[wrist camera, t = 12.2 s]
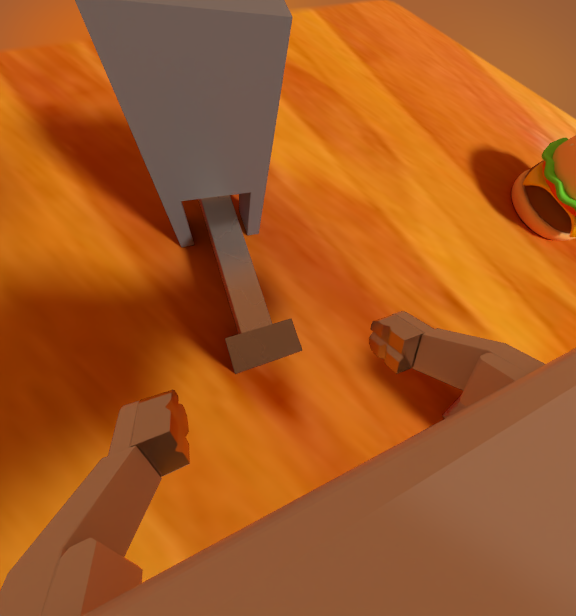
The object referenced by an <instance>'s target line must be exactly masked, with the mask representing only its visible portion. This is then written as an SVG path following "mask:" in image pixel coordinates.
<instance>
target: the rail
mask: <svg viewBox="0 0 576 616" xmlns="http://www.w3.org/2000/svg"><path fill="white" fill-rule="evenodd" d="M198 200H199V203H200V207H201V210H202V213H203V217H204V220H205V224H206V227H207V230H208V234H209V237H210V240H211V244H212V247H213V250H214V254H215V257H216V260H217V264H218V267H219V271H220V274H221V277H222V281H223V284H224V287H225V291H226V294H227V297H228V301H229V304H230V308H231V311H232V314H233V318H234V321H235V324H236V328H237V331H238V335H235V336H231V337H228V338H225V340H226V344H227V347H228V351H229V354H230V358H231V361H232V365H233V368H234V372H235V374H237V373H240V372H243V371H246V370H249V369H251V368H254V367H257V366H260V365H263V364H266V363H269V362H272V361H274V360H277V359H280V358H283V357H286V356H289V355H291V354H294V353H297V352H299V351H302V348H301V345H300V342H299V339H298V336H297V333H296V330H295V328H294V325H293V322H292V319H288V320H284V321H281V322H278V323H274V324H272V321H271V318H270V315H269V312H268V309H267V306H266V303H265V300H264V297H263V294H262V291H261V288H260V285H259V282H258V279H257V276H256V273H255V270H254V267H253V264H252V261H251V258H250V255H249V252H248V249H247V246H246V243H245V240H244V237H243V234H242V230H241V227H240V224H239V221H238V218H237V215H236V212H235V209H234V206H233V203H232V200H231V197H230V195H226V196H218V197H210V198H202V199H198Z"/></svg>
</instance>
